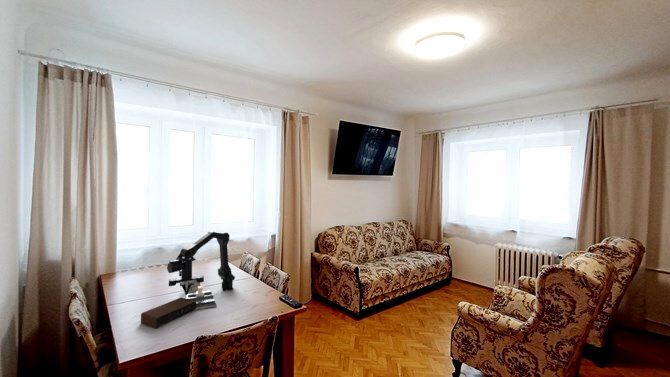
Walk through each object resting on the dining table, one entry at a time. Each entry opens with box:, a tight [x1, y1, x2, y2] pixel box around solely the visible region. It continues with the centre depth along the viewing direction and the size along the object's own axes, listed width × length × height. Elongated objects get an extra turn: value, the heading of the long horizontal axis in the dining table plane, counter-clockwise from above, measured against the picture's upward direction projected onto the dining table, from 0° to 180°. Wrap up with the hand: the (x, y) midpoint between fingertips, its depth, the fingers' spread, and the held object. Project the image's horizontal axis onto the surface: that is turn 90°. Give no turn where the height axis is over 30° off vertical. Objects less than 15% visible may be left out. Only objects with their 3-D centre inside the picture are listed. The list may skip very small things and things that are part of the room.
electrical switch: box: [185, 276, 201, 294], centre depth 190 cm, size 9×5×9 cm, turn 141°
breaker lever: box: [195, 285, 205, 297], centre depth 175 cm, size 4×4×6 cm
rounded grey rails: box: [195, 302, 217, 311], centre depth 165 cm, size 17×4×1 cm, turn 117°
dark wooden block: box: [140, 297, 197, 330], centre depth 154 cm, size 24×12×6 cm, turn 156°
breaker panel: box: [185, 289, 216, 306], centre depth 175 cm, size 16×18×4 cm
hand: (186, 294), depth 172 cm, fingers closed
